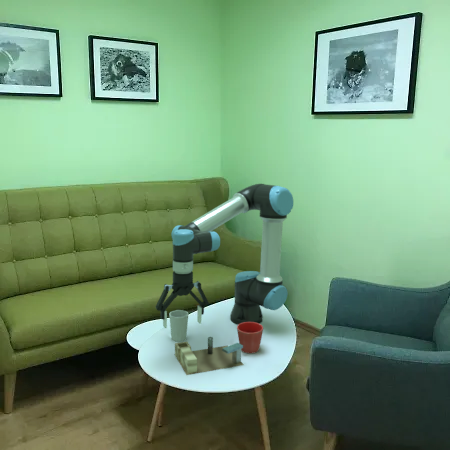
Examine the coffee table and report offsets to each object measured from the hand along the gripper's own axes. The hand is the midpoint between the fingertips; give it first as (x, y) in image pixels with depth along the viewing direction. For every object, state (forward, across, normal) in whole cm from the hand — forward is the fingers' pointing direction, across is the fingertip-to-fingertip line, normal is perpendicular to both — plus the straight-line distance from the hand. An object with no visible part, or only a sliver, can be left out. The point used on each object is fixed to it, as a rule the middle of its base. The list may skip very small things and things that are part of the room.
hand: (182, 324), depth 178 cm
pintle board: (+14, +9, -5) cm, 18 cm away
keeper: (+13, +16, -11) cm, 24 cm away
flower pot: (+14, +28, 0) cm, 32 cm away
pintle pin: (+14, +11, 0) cm, 18 cm away
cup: (+15, +3, +17) cm, 22 cm away
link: (+13, 0, -5) cm, 14 cm away
